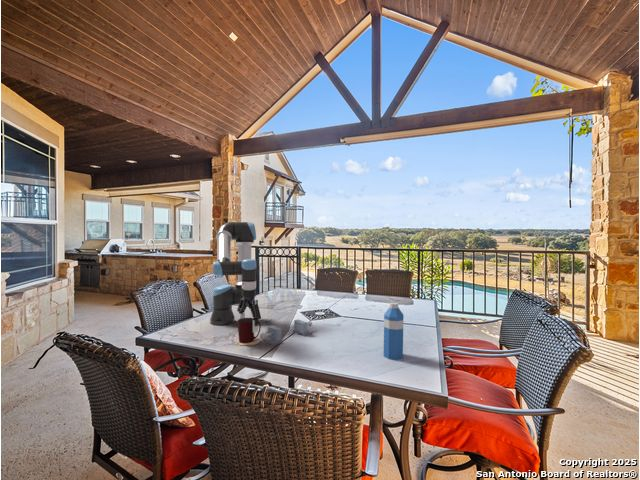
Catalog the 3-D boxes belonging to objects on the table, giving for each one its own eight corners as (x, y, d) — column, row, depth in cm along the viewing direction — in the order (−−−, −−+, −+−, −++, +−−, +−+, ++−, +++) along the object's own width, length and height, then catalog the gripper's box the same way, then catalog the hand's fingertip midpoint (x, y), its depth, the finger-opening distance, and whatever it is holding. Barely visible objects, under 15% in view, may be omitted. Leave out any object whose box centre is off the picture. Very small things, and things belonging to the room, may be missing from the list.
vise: (256, 341, 158) (256, 328, 158) (305, 328, 181) (305, 317, 181) (267, 347, 151) (267, 333, 151) (316, 332, 174) (316, 320, 174)
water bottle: (380, 352, 146) (381, 301, 145) (399, 351, 146) (400, 301, 146) (386, 360, 136) (387, 305, 136) (406, 359, 137) (407, 305, 137)
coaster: (232, 341, 158) (232, 340, 158) (252, 336, 167) (252, 335, 167) (244, 347, 150) (244, 346, 150) (264, 342, 158) (264, 341, 158)
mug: (262, 338, 162) (262, 318, 162) (257, 344, 153) (258, 322, 153) (240, 337, 163) (241, 317, 163) (235, 343, 154) (235, 322, 154)
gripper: (231, 286, 164) (230, 324, 165) (255, 293, 146) (254, 336, 147) (243, 284, 169) (243, 321, 170) (268, 291, 151) (267, 333, 152)
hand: (248, 328), depth 159 cm, fingers open, 13 cm apart
